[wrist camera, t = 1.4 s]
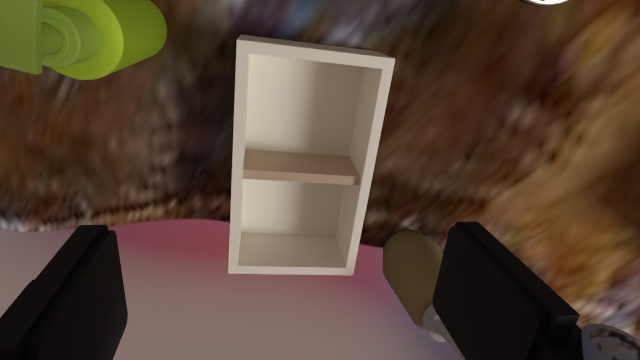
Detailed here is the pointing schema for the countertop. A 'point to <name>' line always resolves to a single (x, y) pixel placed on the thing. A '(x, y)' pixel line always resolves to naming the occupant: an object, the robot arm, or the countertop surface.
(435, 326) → the squeeze bottle
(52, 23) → the soap dispenser
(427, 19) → the countertop surface
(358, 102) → the caddy
